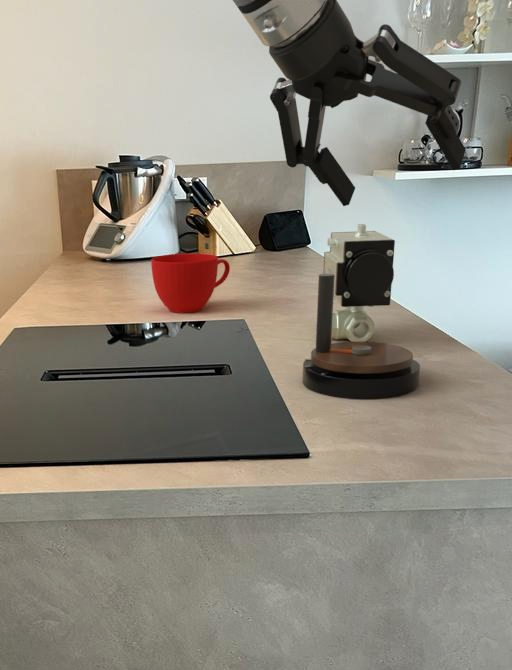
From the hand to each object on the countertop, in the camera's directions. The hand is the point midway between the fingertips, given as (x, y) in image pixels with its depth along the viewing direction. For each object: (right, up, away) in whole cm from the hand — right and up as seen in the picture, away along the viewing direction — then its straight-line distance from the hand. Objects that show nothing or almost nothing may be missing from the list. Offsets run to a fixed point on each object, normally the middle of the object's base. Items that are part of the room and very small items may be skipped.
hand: (401, 179), depth 88 cm
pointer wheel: (0, -18, +16) cm, 24 cm away
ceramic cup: (-20, +1, +69) cm, 72 cm away
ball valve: (+4, -11, +40) cm, 42 cm away
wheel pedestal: (0, -21, +17) cm, 27 cm away
